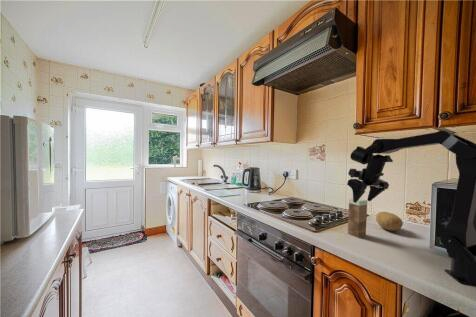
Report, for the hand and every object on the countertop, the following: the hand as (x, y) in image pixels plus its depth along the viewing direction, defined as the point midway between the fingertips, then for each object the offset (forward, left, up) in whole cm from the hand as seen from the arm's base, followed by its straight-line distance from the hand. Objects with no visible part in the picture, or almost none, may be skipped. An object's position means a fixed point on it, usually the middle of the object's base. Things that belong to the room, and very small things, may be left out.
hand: (361, 201), depth 88 cm
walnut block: (+1, +1, -15) cm, 16 cm away
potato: (+15, -16, -16) cm, 27 cm away
